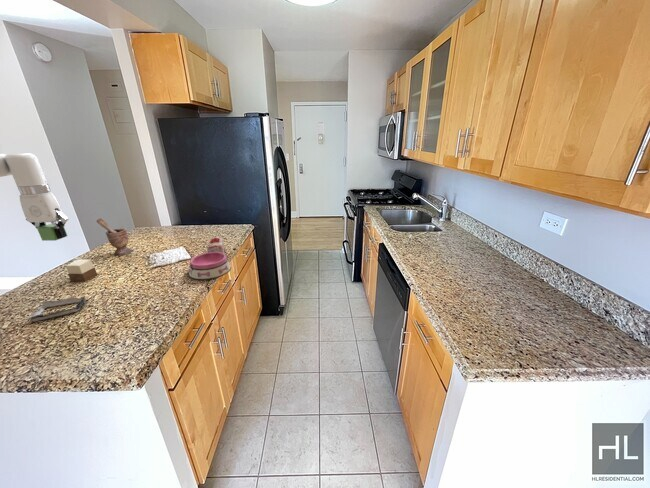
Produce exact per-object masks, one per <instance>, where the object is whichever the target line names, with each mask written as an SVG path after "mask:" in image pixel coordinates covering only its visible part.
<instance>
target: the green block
mask: <svg viewBox="0 0 650 488" xmlns="http://www.w3.org/2000/svg"><path fill="white" fill-rule="evenodd" d="M54 229H55V227H54V226H53V225H52V223H48V224H46V225H45V226H42V227H39V228H37V229H36V230H37V232H38V234H39V237H40V238H41V240H42V242H44V241H46V242H47V241H58V240H59V239H58V238H57V236H56V234H55V231H54ZM64 230H65V232H66V235H67V236H68V233H67V231H66V228H65V227H64Z"/></svg>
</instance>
